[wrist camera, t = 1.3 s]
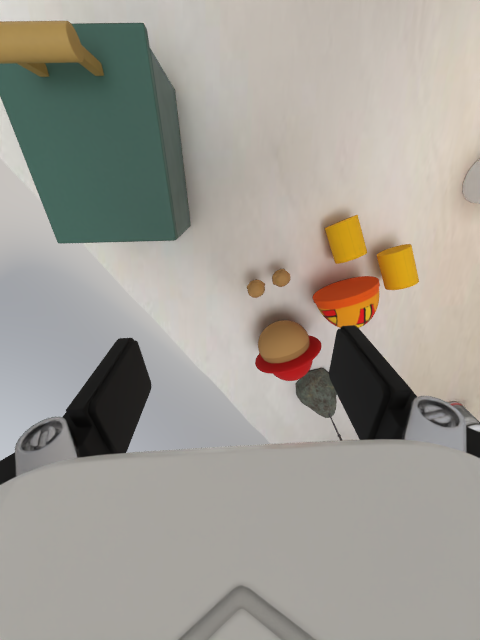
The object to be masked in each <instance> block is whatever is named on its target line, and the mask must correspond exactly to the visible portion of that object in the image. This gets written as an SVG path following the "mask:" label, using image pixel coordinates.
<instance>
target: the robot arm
mask: <svg viewBox="0 0 480 640" xmlns="http://www.w3.org/2000/svg"><path fill="white" fill-rule="evenodd" d="M329 377H330V380H331V383H332V385H333V387H334V389H335V391H336V393H337V395H338V397H339V399H340V401H341V403H342V405H343V407H344V409H345V411H346V413H347V415H348V417H349V419H350V421H351V423H352V425H353V427H354V429H355V431H356V433H357V435H358V437H359V439H360V440H344V441H323V442H303V443H284V444H265V445H250V446H249V445H248V446H230V447H212V448H195V449H181V450H180V449H179V450H163V451H147V452H133V453H126V451H127V449H128V447H129V444H130V441H131V439H132V436H133V434H134V431H135V429H136V426H137V424H138V421H139V418H140V416H141V413H142V411H143V408H144V406H145V403H146V401H147V398H148V396H149V393H150V390H151V381H150V378H149V375H148V372H147V369H146V366H145V363H144V360H143V357H142V354H141V351H140V348H139V345H138V342H137V341H134V340H133V339H132V338H120V339H118V340H117V341H116V342H115V344H114V345H113V346H112V348H111V349H110V350H109V352H108V353H107V355H106V356H105V357H104V359H103V360H102V361H101V363H100V364H99V366H98V367H97V368H96V370H95V371H94V373H93V374H92V375H91V376H90V378H89V379H88V381H87V382H86V383H85V385H84V386H83V387H82V389H81V390H80V392H79V393H78V394H77V396H76V397H75V398H74V400H73V401H72V403H71V404H70V405H69V407H68V408H67V409H66V411H67V412H66V413H65V415H64V416H63V417H51V418H48V419H45V420H42V421H40V422H38V423H37V424H35V425H33V426H32V427H30V428H29V429H28V430H27V431H25V433H24V434H23V435H22V436H21V437H20V438H19V440H18V442H17V443H16V447H15V453H13V454H12V455H10V456H8V457H6V458H5V459H3V460H1V461H0V640H480V432H478V431H476V430H473V429H471V428H469V427H467V426H466V422H465V418H464V417H463V415H462V414H461V413H460V412H459V411H458V410H457V409H456V408H455V407H454V406H452V405H450V404H449V403H447V402H445V401H443V400H441V399H438V398H435V397H431V396H419V397H417V396H416V395H415V394H414V392H413V391H412V390H411V389H410V387H409V386H408V385H407V384H406V383H405V382H404V380H403V379H402V378H401V377H400V376H399V375H398V373H397V372H396V371H395V370H394V369H393V368H392V367H391V365H390V364H389V363H388V362H387V361H386V360H385V358H384V357H383V356H382V355H381V354H380V353H379V351H378V350H377V349H376V348H375V347H374V346H373V345H372V343H371V342H370V341H369V340H368V339H367V338H366V336H365V335H364V334H363V333H362V332H361V331H360V329H359V328H358V327H357V326H356V325H349V326H342V327H341V329H338V330H337V333H336V338H335V344H334V349H333V354H332V360H331V365H330V370H329Z"/></svg>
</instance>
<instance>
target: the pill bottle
mask: <svg viewBox="0 0 480 640" xmlns="http://www.w3.org/2000/svg"><path fill="white" fill-rule="evenodd" d="M449 404H450V405H452V406H454V407H455V408H456V409H457V410H458V411H459V412H460V413H461V414H462V415H463V417H464V418H465V422H466V426H467V427H469V428H471V429H473V430H476V431H478V432H480V422H479V421H478V420H477V419H476V418H475V417H474V416H473V415H472V414H471V413H470V412H469V411H467V410H466V409H465V408H464V407H463V406H462V405H461V404H460V403H458V402H450V403H449Z"/></svg>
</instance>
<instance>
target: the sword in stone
mask: <svg viewBox="0 0 480 640" xmlns="http://www.w3.org/2000/svg"><path fill="white" fill-rule="evenodd" d="M296 394H297V396H298V398H299V399H300V401H301V402H302V403H303V404H304V405H306V406H308V407H309V408H311V409H312V410H313V411H315V412H316V413H317V414H319V415H321V416H323V417H325V418H329V417H330V418H331V417H332V416H333V415H334V413H335V410H336V395H337V393H336V391H335V389H334V387H333V385H332V383H331V380H330V377H329V373H328V372H327V371H326V370H324V369H323V368H322V369H317V370H313V371H308V373H307V374H306V375H305V376H303V377H302V378H301V379H300V380H299V381H298V382H297V383H296ZM331 420H332V418H331ZM332 423H333V425H334V427H335V430H336V432H337V434H338V437H339V438H340V441H342V438H341V435H340V434H339V433H338V431H337V428H336V426H335V424H334V422H333V420H332Z"/></svg>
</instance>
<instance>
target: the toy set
mask: <svg viewBox="0 0 480 640" xmlns="http://www.w3.org/2000/svg"><path fill="white" fill-rule="evenodd" d="M325 231H326V234H327V237H328V241H329V244H330V247H331V251H332V254H333V257H334V261H335V263H336V264H339V263H344V262H347V261H351V260H354V259H356V258H359V257H361V256H363V255H365V254H366V253H367V249H366V246H365V242H364V238H363V234H362V230H361V227H360V223H359V219H358V215H355V216H352V217H350V218H347V219H345V220H342V221H340V222H337V223H335V224H333V225H331V226H328V227H326V228H325ZM377 259H378V263H379V266H380V270H381V274H382V278H383V282H384V286H385V289H387V290H398V289H404V288H408V287H411V286H413V285H415V284H417V283H418V282H419V279H418V274H417V270H416V265H415V260H414V255H413V251H412V246H411V244H406V245H400V246H396V247H392V248H389V249H386V250H384V251H382V252H380V253H378V254H377ZM272 281H273V284H274V285H277V286H279V287H283V286H285V285H287V284H288V283H289V281H290V274H289V273H288V272H287V271H285V269H280V270H277V271H276V272H275V273H274V274H273V276H272ZM264 286H265V283H263V282H262V281H260V280H253V281H251V282H250V283H249V284H248V285H247V289H248V293H249V295H250V296H251V297H254V298H257V297H259V296H261V295H263V293H264V291H265V287H264ZM379 286H380V284H379V280H378V278H376V277H372V276H363V277H355V278H350V279H345V280H342V281H338V282H335V283H333V284H330V285H328V286H326V287H324V288H322V289H320V290H318V291H317V292H316V293H315V294H314V295H313V300H314V302H315V303H316V305H317V307H318V309H319V310H320V312H321V313H322V315H323V316H324V317H325V318H326V319H327V320H328V321H329V322H330V323H332V324H333V325H335V326H337V327H340V328H341V327H342V326H349V325H356V326H357V327H358V328H359V327H361V326H363V325H365V324H366V323H367V322H369V321H370V319H371V318H372V317H373V315H374V314H375V312H376V309H377V306H378V302H379ZM258 349H259V352H260V353H259V355H258V356H257V358H256V362H255V364H256V367H257V368H258V369H259V370H260V371H262V372H265V373H273V374H274V375H275V376H276V377H278V378H280V379H282V380H286V381H294V380H298V379H300V378H302V377H303V376H305V375H306V374H307V373H308V371H309V370H310V368H311V365H312V360H313V359H314V358H315V357H316V356H317V355H318V353H319V352H320V350H321V342H320V341H319V340H318V339H317V338H315V337H313V336H309V335H308V334H307V332H306V330H305V329H304V328H303V327H302V326H301V325H299V324H298V323H296V322H293V321H288V320H282V321H277V322H274V323H272V324H270V325H269V326H267V327H266V328H265V329H264V330H263V332H262V333H261V335H260V337H259V341H258Z"/></svg>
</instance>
